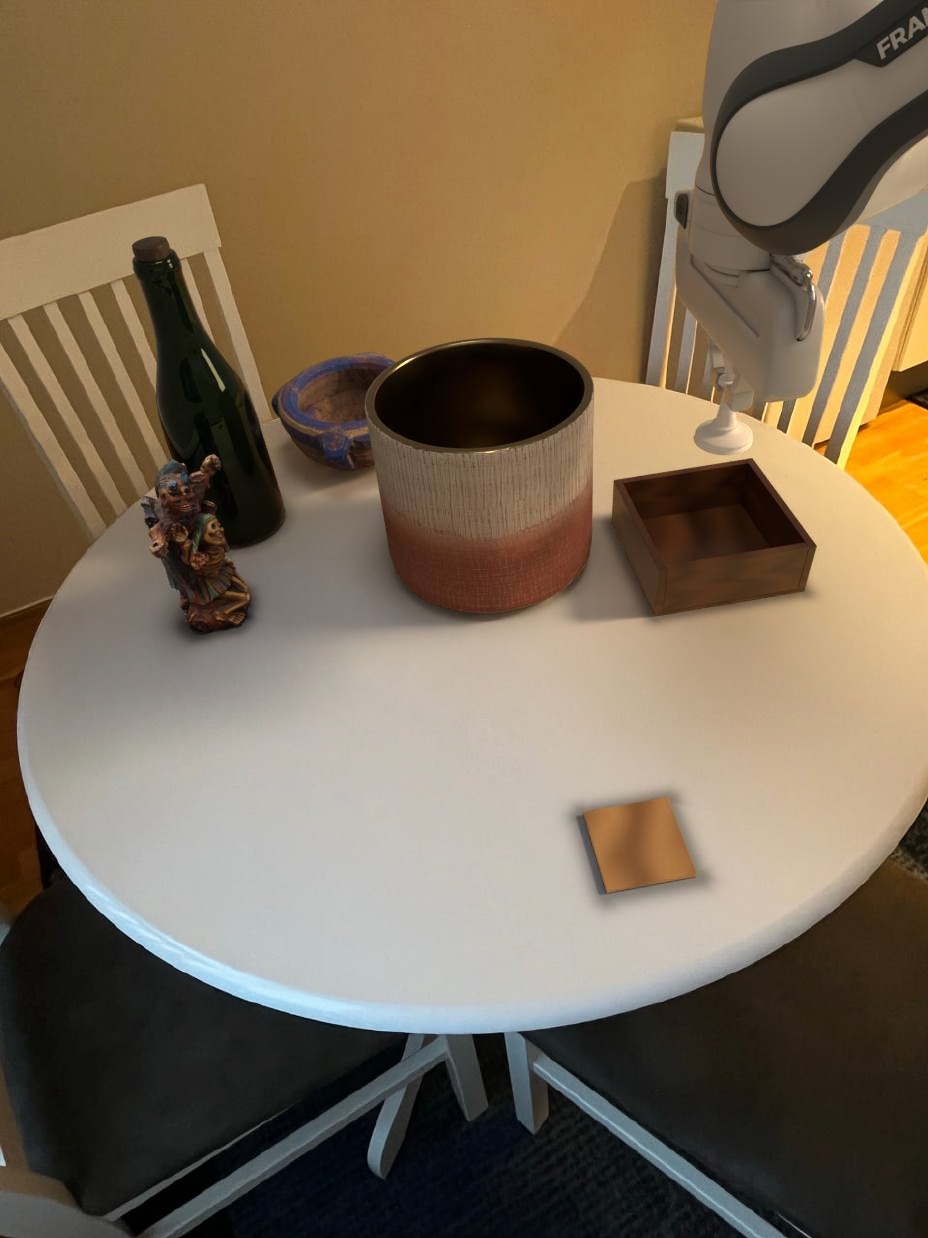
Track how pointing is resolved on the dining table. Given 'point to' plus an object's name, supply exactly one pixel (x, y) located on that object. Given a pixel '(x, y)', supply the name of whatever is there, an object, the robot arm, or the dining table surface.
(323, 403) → the bowl
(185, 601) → the figurine
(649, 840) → the coaster
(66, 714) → the dining table surface
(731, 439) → the chess piece
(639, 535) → the crate
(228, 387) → the green wine bottle
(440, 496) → the planter
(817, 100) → the robot arm
